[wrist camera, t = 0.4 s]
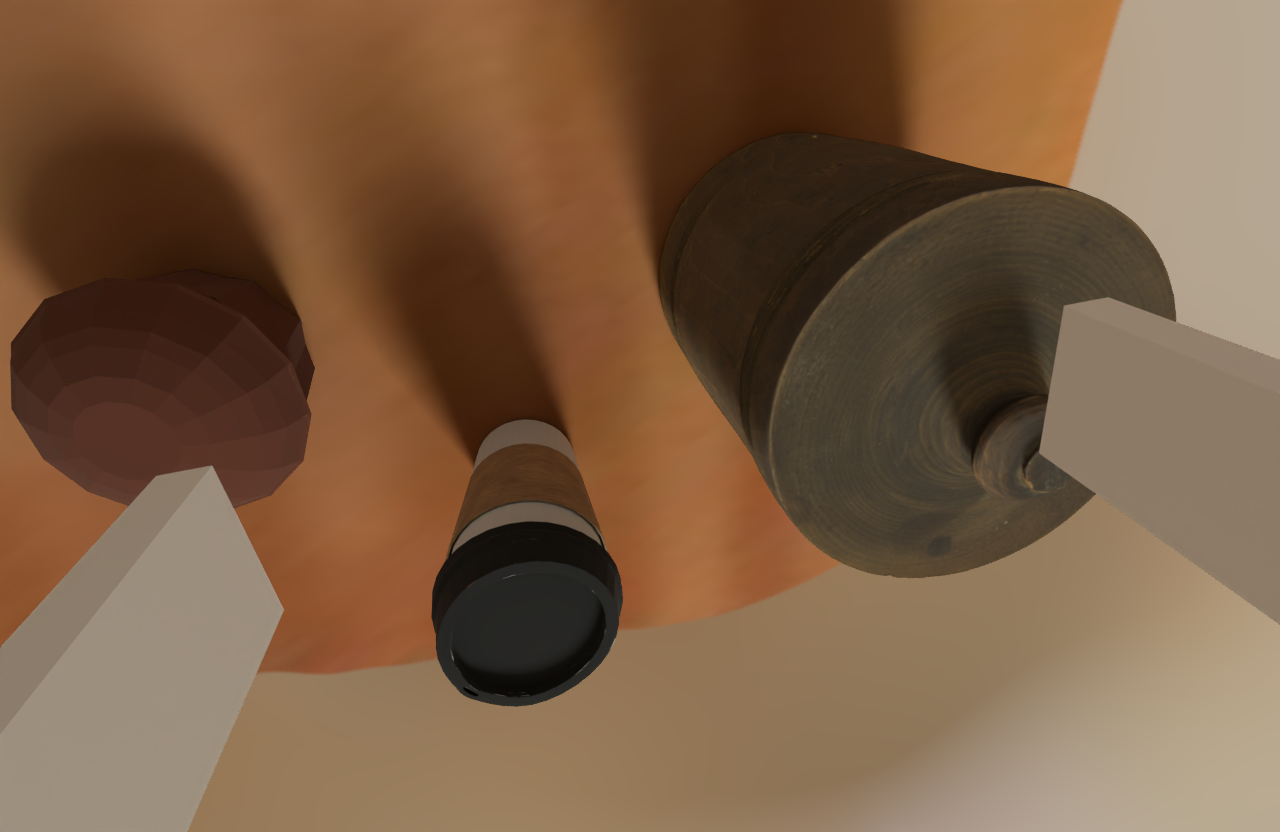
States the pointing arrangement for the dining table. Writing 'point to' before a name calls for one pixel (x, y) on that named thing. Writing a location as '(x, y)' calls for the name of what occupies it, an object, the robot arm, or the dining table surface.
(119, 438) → the muffin
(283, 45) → the dining table surface
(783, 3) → the dining table surface
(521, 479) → the coffee cup
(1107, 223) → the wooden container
